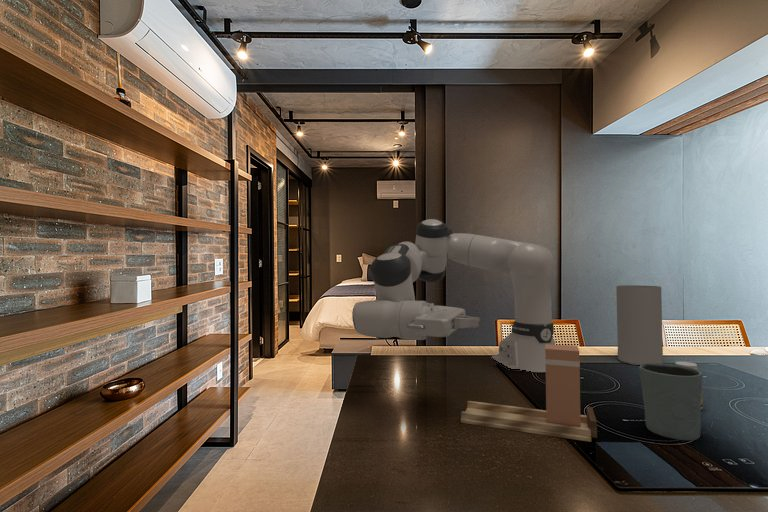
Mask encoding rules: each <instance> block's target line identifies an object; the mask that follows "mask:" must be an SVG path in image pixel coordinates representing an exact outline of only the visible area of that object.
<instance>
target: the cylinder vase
mask: <svg viewBox="0 0 768 512" xmlns="http://www.w3.org/2000/svg"><path fill="white" fill-rule="evenodd" d="M615 288H616V289H615V290H616V326H617V329H616V334H617V335H616V338H617V341H616V342H617V359H618V360H619V361H620V362H621V363H625V364H627V363H628V365H633V366H638V365H641V364H647V363H661V364H664V347H663V346H664V345H663V310H662V309H663V305H662V303H663V302H662V300H663V299H662V286H657V285H640V284H639V285H636V284H635V285H634V284H633V285H632V284H631V285H630V284H628V285H616V287H615Z"/></svg>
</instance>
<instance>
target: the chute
mask: <svg viewBox="0 0 768 512" xmlns="http://www.w3.org/2000/svg"><path fill="white" fill-rule="evenodd" d="M466 404H467V405H466V406H467V407H466V409H465V411H464V410H462V411H461V412H460V417H461V418H460V423H461V424H468V425H469V424H470V425H475V426H481V427H488V428H495V429H503V430H510V431H515V432H523V433H528V434H536V435H541V436H542V435H543V436H549V437H554V438H555V437H557V438H563V439H570V440H575V441H576V440H577V441H582V442H583V441H584V442H589V443H590V442H592V438H593V439H597V438H598V421H597V418H596V416H595V412H594V408H593V407H592V406H586V415H584V414H580V417H581V427H575V426H568V425H560V424H553V423H546V409H544V410H543V409H538V408H530V407H529V408H528V407H521V406H514V405H506V404H499V403H498V404H497V403H488V402H481V401H480V402H479V401H474V400H473V401H472V400H467V403H466Z"/></svg>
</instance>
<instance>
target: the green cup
mask: <svg viewBox="0 0 768 512" xmlns="http://www.w3.org/2000/svg"><path fill="white" fill-rule="evenodd" d="M697 369H698V368H697ZM697 369H694V368H690V367H685V366H679V365H675V364H671V363H662V364H661V363H647V364H641V365H640V366H638V370H639V378H640V383H641V390H642V400H643V408H644V421H645V426H646V428H647V430H649V431H650V432H651V433H654V434H656V435H659V436H662V437H664V438H669V439H673V440H679V441H695V440H698V439H699V438H700V437H701V431H702V430H701V429H702V428H701V427H702V426H701V425H702V422H701V411H702V410H701V405H700V403H701V395H702V396H703V372H702V371H700V370H699V369H698V370H697Z"/></svg>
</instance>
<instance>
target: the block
mask: <svg viewBox="0 0 768 512" xmlns="http://www.w3.org/2000/svg"><path fill="white" fill-rule="evenodd" d="M545 364H546V372H545V408H546V409H545V410H546V423H553V424H560V425H568V426H575V427H581V417H580V415H581V374H580V372H581V371H580V369H581V363H580V349H579V347H578V345H568V344H567V345H563V344H555V345H552V344H545Z"/></svg>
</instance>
